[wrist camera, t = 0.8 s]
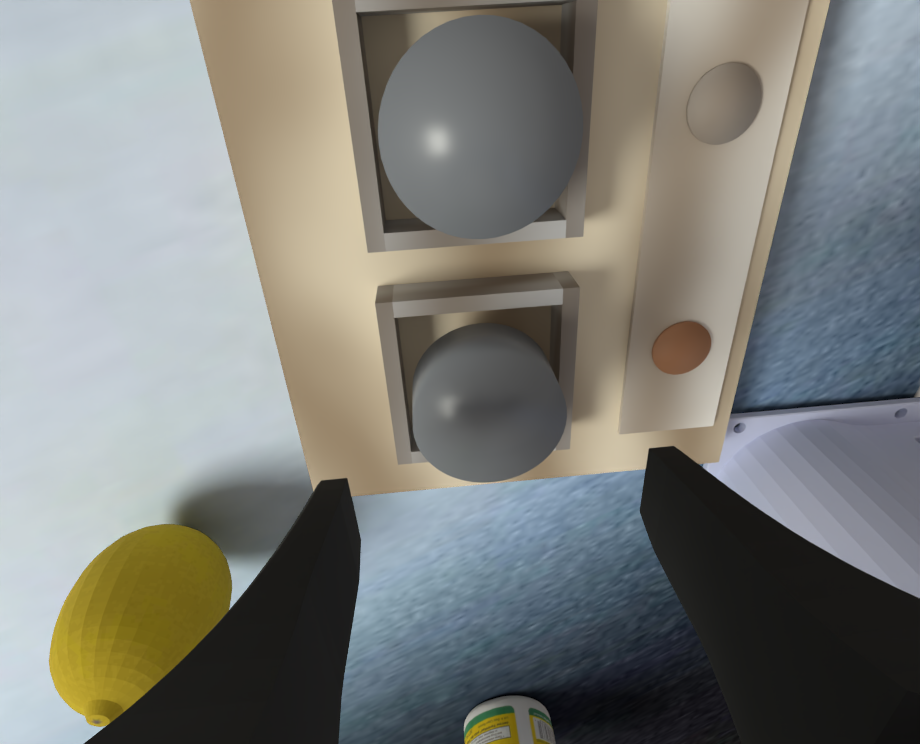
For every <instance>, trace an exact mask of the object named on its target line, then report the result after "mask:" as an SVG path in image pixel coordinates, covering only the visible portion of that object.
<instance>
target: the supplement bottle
mask: <svg viewBox="0 0 920 744" xmlns="http://www.w3.org/2000/svg"><path fill="white" fill-rule="evenodd" d="M464 739H465V744H556V743H555V738H554V733H553V728H552V724H551V720H550V716H549V713H548V711H547V709H546V708H545V707H544V706H543V705H542V704H541V703H540V702H538V701H537V700H535V699H532V698H529V697H525V696H503V697H498V698H495V699H492V700H488V701H485V702H483V703H481V704H479V705H478V706H476V707H475V708H474V709H472V711H471V712H470V713H469V714H468V716H467V718H466V720H465V723H464Z"/></svg>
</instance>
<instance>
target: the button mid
mask: <svg viewBox="0 0 920 744" xmlns="http://www.w3.org/2000/svg"><path fill="white" fill-rule="evenodd" d="M582 136H583V111H582V103H581V98H580V94H579V90H578V87H577V84H576V82H575V79H574V77H573V74H572V72H571V70H570V68H569V67H568V65H567V63H566V61H565V60H564V58H563V57H562V56H561V54H560V53H559V52H558V50H557V49H556V48H555V47H554V46H553V45H552V44H551V43H550V42H549V41H548V40H547V39H546V38H545V37H544V36H542V35H541V34H540V33H538V32H537V31H535V30H534V29H532V28H530V27H529V26H527V25H525V24H523V23H521V22H518V21H515V20H512V19H510V18H506V17H501V16H495V15H473V16H465V17H461V18H458V19H454V20H451V21H448V22H446V23H444V24H442V25H440V26H437V27H435V28H434V29H432V30H431V31H429V32H428V33H426V34H425V35H423V36H422V37H421V38H420V39H419V40H418V41H416V42H415V43H414V44H413V45H412V46H411V47H410V48H409V49H408V51H407V52H406V53H405V54H404V55H403V57H402V58H401V59H400V61H399V62H398V64H397V65H396V67H395V69H394V70H393V72H392V74H391V76H390V78H389V80H388V83H387V85H386V88H385V91H384V94H383V97H382V100H381V106H380V111H379V119H378V142H379V149H380V155H381V160H382V163H383V166H384V169H385V172H386V175H387V177H388V179H389V181H390V184H391V186H392V187H393V189H394V191H395V192H396V194H397V195H398V197H399V198H400V200H401V201H402V202H403V203H404V205H405V206H406V207H407V208H408V209H409V210H410V211H411V212H412V213H413V214H414V215H415V216H416V217H418V218H419V219H420V220H422V221H423V222H424V223H426V224H427V225H429V226H431V227H433V228H434V229H436V230H438V231H441V232H443V233H446V234H448V235H452V236H456V237H460V238H467V239H489V238H496V237H500V236H504V235H507V234H510V233H513V232H515V231H518V230H520V229H522V228H524V227H525V226H527V225H529V224H531V223H532V222H533V221H535V220H536V219H538V218H539V217H540V216H542V215H543V214H544V213H545V212H546V211H547V210H548V209H549V208H550V207H551V206H552V205H553V204H554V202H555V201H556V200H557V199H558V198H559V196H560V195H561V194H562V192H563V190H564V189H565V187H566V186H567V184H568V182H569V180H570V178H571V176H572V174H573V172H574V169H575V167H576V164H577V161H578V158H579V154H580V149H581V145H582Z"/></svg>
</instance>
